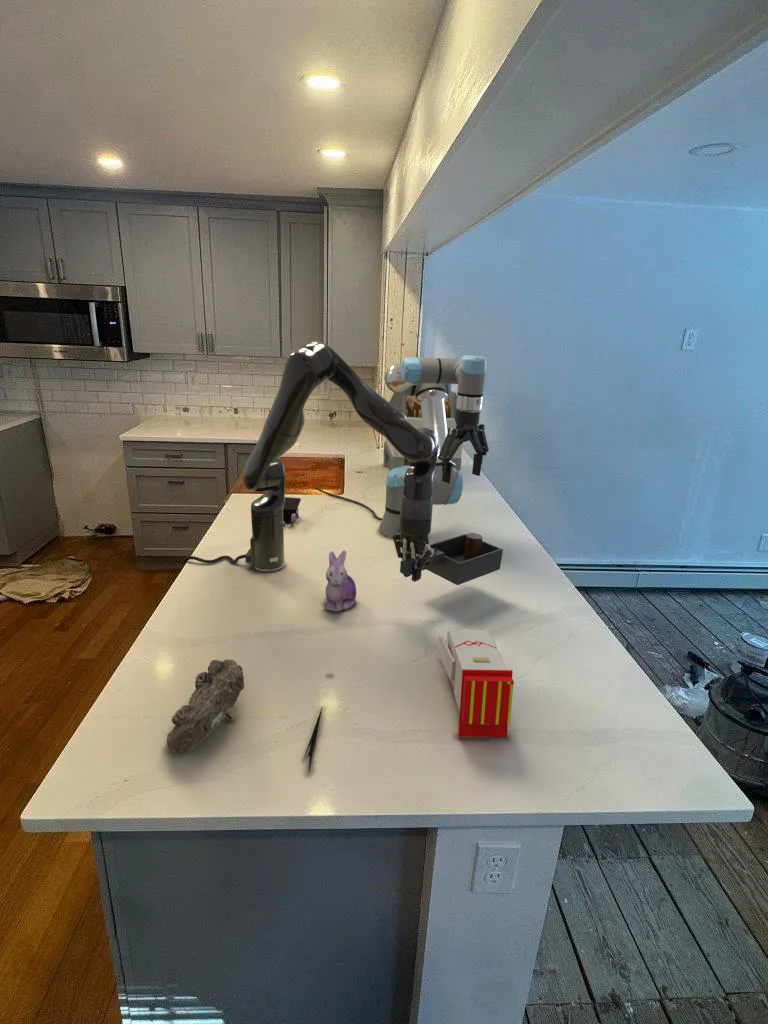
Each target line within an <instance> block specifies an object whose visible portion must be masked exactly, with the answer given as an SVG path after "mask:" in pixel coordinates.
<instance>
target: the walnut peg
mask: <svg viewBox="0 0 768 1024" xmlns="http://www.w3.org/2000/svg"><path fill="white" fill-rule="evenodd" d="M466 534H467V535H466V543H465V552H464V560H463V561H466V560H469V559H472V558H475V557H478V556H480V555H481V547H482V541H483V538H484V537H483V535H482V534H480V533H478V532H477V533H476V532H468V533H466Z"/></svg>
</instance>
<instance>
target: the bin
mask: <svg viewBox="0 0 768 1024" xmlns="http://www.w3.org/2000/svg"><path fill="white" fill-rule="evenodd" d="M467 534H468V533H463V534H459V535H457V536H454V537H449V538H447V539H443V540H440V541H437V542H433V543H429V546H430V547H431V548H432V549H436V551H437V552H436V554H435V556H434V558H433V559H432V561H431V563H430V564H429V566H428V567H424V568H422V570H421V572H422V571H425V570H426V571H428V572H430V573H432V574H434V575H436V576H438V577H440V578H442V579H444V580H446V581H448V582H450V583H452V584H454V585H456V586H460V585H462V584H464V583H465V584H466V583H467V582H470V581H473V580H475V579H476V580H477V579H479V578H481V577H483V576H486V575H489V574H492V573H494V572H497V571H499V570H501V566H502V558H503V552H504V549H503V548H501V547H499V546H496V545H494V544H492V543H489V542H487V541H485V540H482V547H481V555H480V556H478V557H475V558H472V559H469V560H466V561H463V560H464V552H465V543H466V535H467ZM418 562H419V559H418ZM412 569H413V559H412V558H410V559H406V560H403V561H402V560H400V565H399V573H401V574H402V575H403V574H404V575H406V576H407V575H410V574H412Z"/></svg>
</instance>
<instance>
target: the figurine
mask: <svg viewBox="0 0 768 1024" xmlns="http://www.w3.org/2000/svg"><path fill="white" fill-rule="evenodd" d="M346 558H347V551H346V550H345V549H343V550H342V551H341V552H340V554H339V555H338V557H337V556H336V555H335V552H334V551H332V550H331V551H330V552H329V553H328V564H329V566H328V568H327V570H326V573H325V578H326V581H327V584H326V585H325V601H324V602H325V605H326V606H325V608H326V610H328V611H333V612H340V611H343V610H345V611H346V610H348V609H350V608H351V607H353V606H354V605H355V603H356V600H357V599H356V598H357V586H356V582H355V581H354V579H353V577H351V576H350V575H349V574H348V571H347V568H346V566H345V561H346V560H347V559H346Z"/></svg>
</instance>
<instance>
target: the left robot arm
mask: <svg viewBox="0 0 768 1024" xmlns="http://www.w3.org/2000/svg"><path fill="white" fill-rule="evenodd" d="M325 381H329V382H331V383H332V384H334V385H335V386H336V387H338V388H339V389H340V390H341V391H342V392H343V393H344V394H345V396H347V398H348V400H349V402H350V404H351V406H352V407H353V409H354V412H356V414H357V415H358V416H359V418H360V419H361V420H362V421H363V422H364V423H365V424H366V425H368V426H369V427H370V428H371V429H373V430H374V431H375V432H377V433H378V434H380V435H381V436H383V437H384V439H385V438H386V439H387V440H388V441H389V442H390V443H391V444H392V446H393V447H394V448H395V449H396V450H397V451H398V452H399V453H400V454H401V455H402V456H403V457H405V458H406V459H408V460H409V464H408V469H407V471H406V473H405V475H404V482H403V496H402V501H401V513H400V531H401V533H399V534H395V535H393V539H392V540H393V544H394V547H395V551H396V552H395V553H396V555H397V558H398V559H401V561H403V560H406V559H410V558H412V559H413V569H412V574H410V575H407V576H406V575H404V574H402V575H403V577H405V578H409V577H411V581H412V582H414V583H415V582H418V581H420V580H421V579H422V571H423V570H422V568H424V567H428V566H429V564H430V563H431V561H432V559H433V558H434V556H435V554H436V552H437V551H436V549H432V548H431V547H430V546H429V545H430V540H429V535H430V533H431V530H432V519H433V501H432V495H433V477H434V471H435V467H436V462H437V457H438V450H439V441H438V437H437V435H436V434H435V432H434V431H432V430H431V429H429V428H420V429H416V428H414V427H413V426H412V425H411V424H410V423H409V422H407V421H406V416H405V415H404V414H403V413H402V412H401V411H400V410H399V409H397V408H396V407H395V406H394V405H392V404H391V403H390V402H389V401H388V400H387V399H386V398H384V397H383V396H381V395H380V394H379V393H378V392H377V391H376V390H375V389H374V388H372V387H371V386H370V385H368V383H367V382H366V381H364V379H362V378H361V376H360V375H359V374H358V373H357V372H356V371H355V370H354V369H353V367H351V366H350V365H349V364H348V362H346V361H345V360H344V359H343V357H341V356H340V355H339V354H338V353H337V352H336V351H335V350H334V349H333V348H332V347H331V346H330V345H329V344H327V343H326V342H324V341H321V340H318V339H317V340H315V339H314V340H310V341H309V342H307V343H305V344H304V345H302V346H300V347H299V348H297V349H295V350H294V351H292V352H291V353H290V354H289V356H288V357H287V359H286V361H285V365H284V369H283V372H282V376H281V379H280V385H279V389H278V390H277V391H278V392H277V393H276V395H275V398H274V401H273V403H272V405H271V408H270V410H269V412H268V415H267V417H266V419H265V422H264V425H263V428H262V431H261V433H260V435H259V438H258V440H257V442H256V445H255V446H254V448H253V450H252V452H251V453H250V455H249V457H248V458H247V460H246V462H245V464H244V467H243V471H242V472H243V473H242V479H243V484H244V486H245V488H246V489H247V490H248V491H250V492H253V493H262V492H263V494H262V495H260V496H259V497H258V498H256V499H255V500H253V501H252V502H251V504H250V515H251V516H250V517H251V518H250V519H251V521H250V522H251V537H250V539H249V544H250V545H249V546H250V548H249V549H248V550H247V551H246V553H245V554H241V555H238V556H236V557H235V558H232V557H231V556H229V555H221V556H219V557H217V558H214V559H204V558H201V557H198V556H194V555H190V556H189V555H188V556H186V557H185V558H184V559H182V562H183V563H185V562H188V561H189V560H193V561H197V562H199V563H203V564H214V563H217V562H220V561H222V560H228V561H229V562H230V563H231V564H237V563H238V561H240V560H241V559H245V560H244V562H245V564H250V567H251V569H252V570H256V571H259V572H263V573H269V572H271V573H272V572H277V571H279V570H281V569H283V568H284V567H285V543H284V542H285V538H284V537H285V536H284V533H285V532H284V531H285V530H284V528H285V527H283V523H284V522H283V506H284V502H285V497H286V470H285V465H284V463H283V461H282V460H281V459H280V457H282V456H283V455H285V454H286V453H287V452H288V451H289V450H291V448H292V447H294V445H295V444H296V443H297V441H298V440H299V438H300V436H301V433H302V431H303V428H304V426H305V422H306V421H305V420H306V418H305V417H306V416H305V411H304V407H305V405H306V403H307V402H308V399H309V397H310V396H311V395H312V393H313V391H314V390H315V389H316V388H317V387H319V386H320V385H321V384H323V383H324V382H325ZM418 559H419V562H418ZM421 570H422V571H421Z"/></svg>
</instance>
